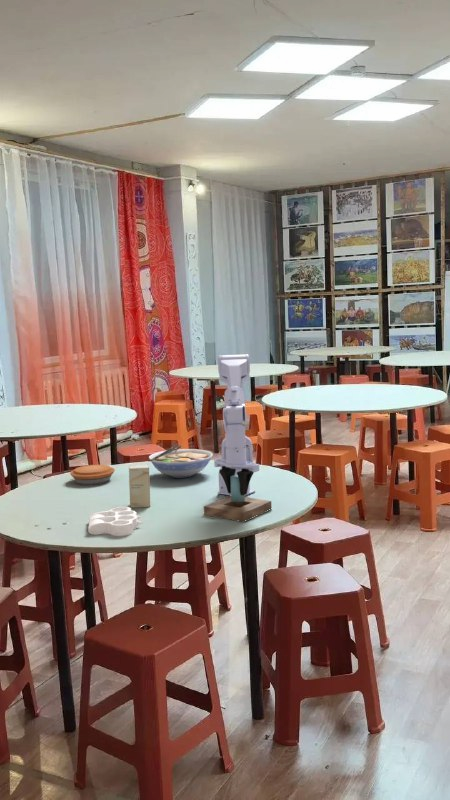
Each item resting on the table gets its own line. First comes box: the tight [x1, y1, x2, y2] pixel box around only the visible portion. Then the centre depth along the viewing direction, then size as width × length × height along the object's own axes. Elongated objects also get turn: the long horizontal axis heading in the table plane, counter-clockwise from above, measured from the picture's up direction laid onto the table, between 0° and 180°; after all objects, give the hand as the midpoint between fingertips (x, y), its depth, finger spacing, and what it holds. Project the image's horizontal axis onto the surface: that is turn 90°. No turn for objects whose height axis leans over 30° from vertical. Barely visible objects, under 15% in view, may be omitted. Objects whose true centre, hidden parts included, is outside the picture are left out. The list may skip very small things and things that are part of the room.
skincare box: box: [128, 464, 151, 509], centre depth 218 cm, size 6×4×12 cm
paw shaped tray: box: [88, 506, 143, 537], centre depth 198 cm, size 3×18×15 cm
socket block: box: [203, 495, 273, 522], centre depth 208 cm, size 14×14×2 cm
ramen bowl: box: [148, 445, 214, 479], centre depth 255 cm, size 25×23×8 cm
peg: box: [230, 475, 246, 502], centre depth 207 cm, size 4×4×7 cm
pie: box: [69, 464, 116, 486], centre depth 252 cm, size 15×16×5 cm
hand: (237, 493), depth 207 cm, fingers closed on peg, 4 cm apart
